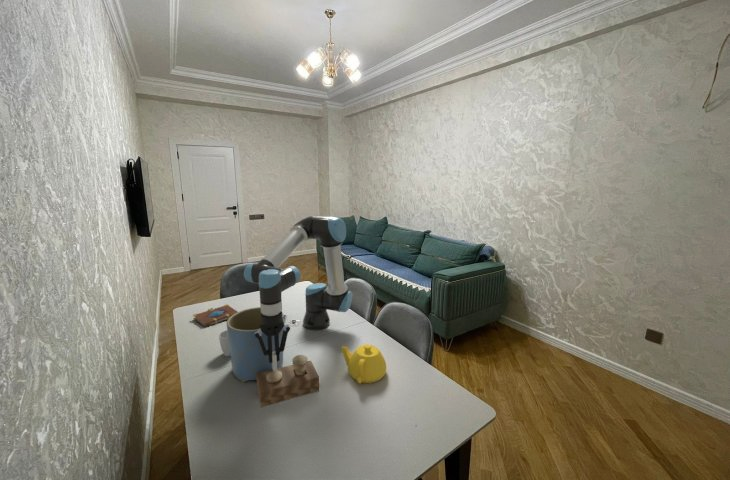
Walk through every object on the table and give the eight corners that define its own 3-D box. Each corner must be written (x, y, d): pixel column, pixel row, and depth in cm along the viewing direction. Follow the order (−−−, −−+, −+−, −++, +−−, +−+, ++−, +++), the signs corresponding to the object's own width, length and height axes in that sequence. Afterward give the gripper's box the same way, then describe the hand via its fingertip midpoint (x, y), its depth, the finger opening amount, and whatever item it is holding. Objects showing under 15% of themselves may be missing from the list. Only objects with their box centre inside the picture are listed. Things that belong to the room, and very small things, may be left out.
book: (246, 315, 186) (246, 308, 185) (204, 330, 167) (203, 322, 166) (233, 306, 196) (232, 299, 195) (192, 319, 177) (191, 312, 176)
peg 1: (281, 385, 122) (280, 369, 121) (284, 394, 117) (283, 377, 115) (266, 389, 120) (265, 372, 118) (268, 398, 114) (267, 381, 113)
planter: (232, 391, 118) (228, 336, 114) (228, 360, 138) (224, 312, 133) (290, 375, 129) (289, 324, 124) (279, 348, 148) (277, 303, 144)
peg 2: (305, 369, 125) (305, 353, 124) (309, 377, 120) (309, 361, 119) (291, 373, 123) (291, 356, 122) (294, 381, 118) (294, 364, 116)
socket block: (311, 373, 130) (310, 360, 129) (319, 390, 120) (319, 377, 119) (257, 386, 121) (256, 373, 120) (260, 407, 110) (260, 392, 109)
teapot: (390, 366, 136) (391, 340, 134) (378, 393, 119) (379, 364, 116) (348, 357, 143) (349, 332, 140) (331, 381, 125) (331, 353, 123)
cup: (232, 359, 139) (230, 339, 137) (216, 356, 141) (214, 337, 139) (242, 349, 147) (241, 330, 145) (227, 347, 148) (226, 328, 146)
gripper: (287, 304, 118) (289, 359, 123) (251, 310, 112) (255, 367, 117) (291, 312, 111) (293, 369, 116) (253, 319, 106) (257, 379, 111)
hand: (274, 368), depth 117 cm, fingers closed
